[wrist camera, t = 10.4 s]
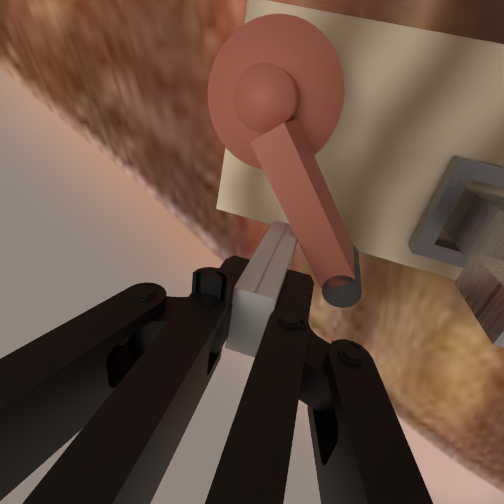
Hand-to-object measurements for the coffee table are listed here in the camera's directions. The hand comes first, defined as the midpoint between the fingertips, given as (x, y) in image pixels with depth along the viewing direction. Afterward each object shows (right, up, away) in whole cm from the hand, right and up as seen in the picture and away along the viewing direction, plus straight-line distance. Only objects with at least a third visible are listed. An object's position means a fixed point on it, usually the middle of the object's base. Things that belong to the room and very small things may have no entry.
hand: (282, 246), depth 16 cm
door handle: (+1, +5, +2) cm, 6 cm away
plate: (+8, +6, +5) cm, 12 cm away
